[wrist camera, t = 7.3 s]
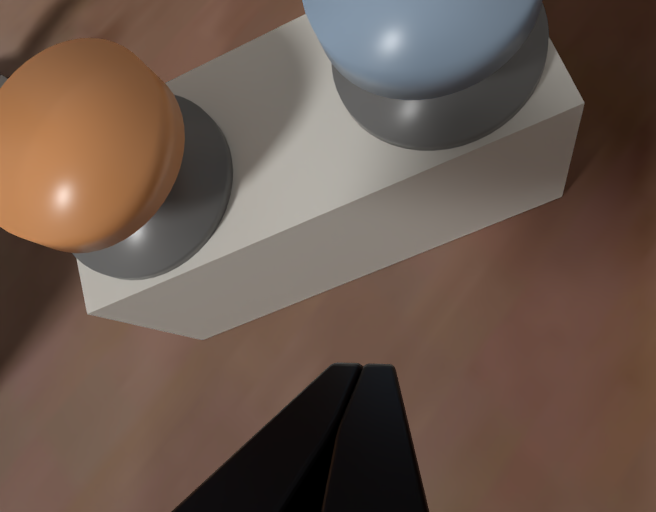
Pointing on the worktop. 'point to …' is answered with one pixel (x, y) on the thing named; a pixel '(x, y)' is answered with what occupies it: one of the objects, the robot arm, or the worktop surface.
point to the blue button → (420, 41)
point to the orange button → (86, 146)
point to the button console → (327, 180)
